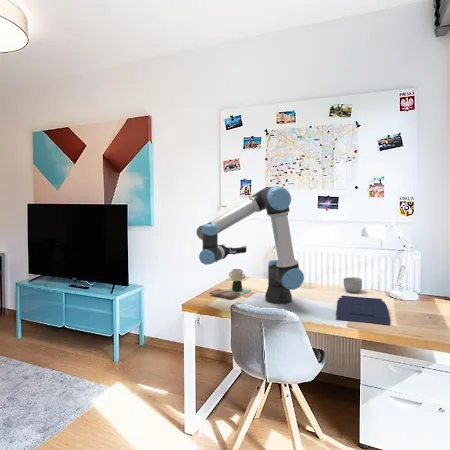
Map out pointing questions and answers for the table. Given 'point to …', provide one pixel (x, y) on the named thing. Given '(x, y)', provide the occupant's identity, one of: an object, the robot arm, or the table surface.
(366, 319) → the folded navy cloth
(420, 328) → the table surface
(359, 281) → the teacup
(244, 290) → the mat
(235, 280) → the character mug
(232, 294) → the walnut slab
